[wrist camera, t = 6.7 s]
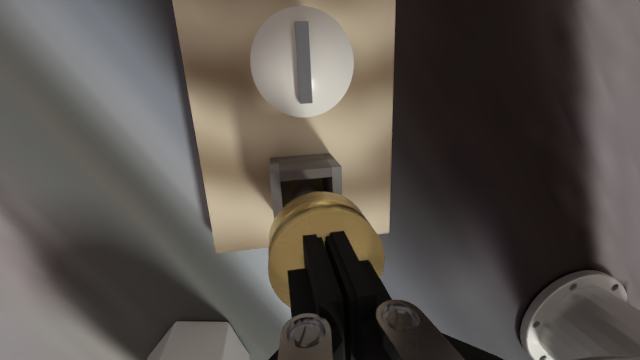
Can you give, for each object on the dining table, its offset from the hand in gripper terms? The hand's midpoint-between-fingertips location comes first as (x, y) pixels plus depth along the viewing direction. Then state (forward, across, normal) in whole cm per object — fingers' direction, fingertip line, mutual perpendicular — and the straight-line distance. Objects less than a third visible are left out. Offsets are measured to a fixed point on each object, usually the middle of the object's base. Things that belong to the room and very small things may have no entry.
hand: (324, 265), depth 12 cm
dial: (+11, 0, -8) cm, 14 cm away
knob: (+8, 0, 0) cm, 8 cm away
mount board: (+13, 0, -8) cm, 15 cm away
